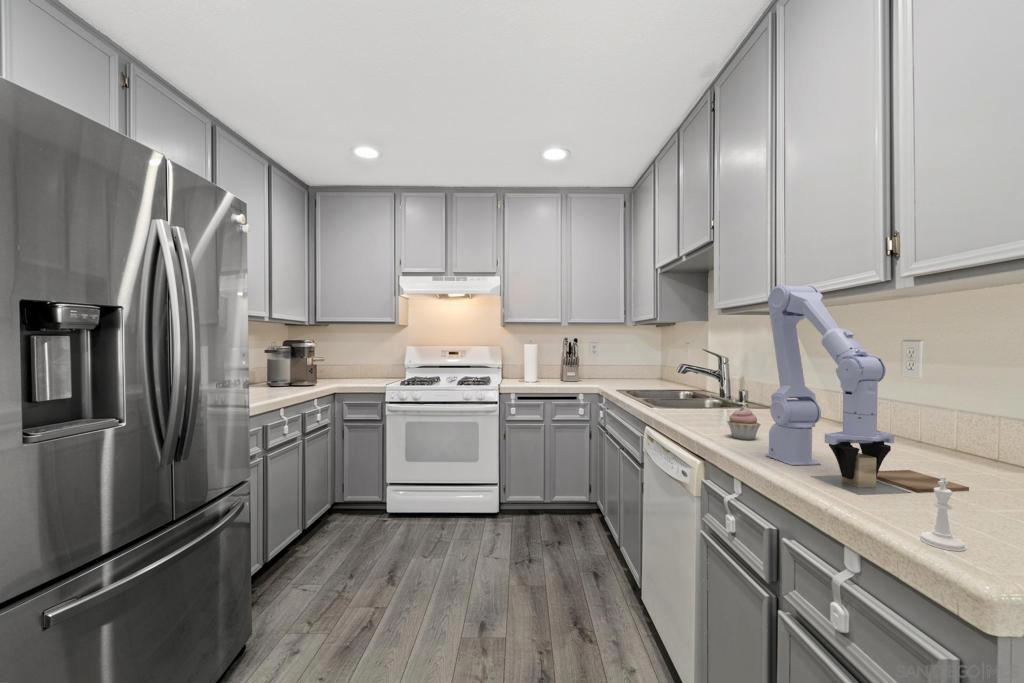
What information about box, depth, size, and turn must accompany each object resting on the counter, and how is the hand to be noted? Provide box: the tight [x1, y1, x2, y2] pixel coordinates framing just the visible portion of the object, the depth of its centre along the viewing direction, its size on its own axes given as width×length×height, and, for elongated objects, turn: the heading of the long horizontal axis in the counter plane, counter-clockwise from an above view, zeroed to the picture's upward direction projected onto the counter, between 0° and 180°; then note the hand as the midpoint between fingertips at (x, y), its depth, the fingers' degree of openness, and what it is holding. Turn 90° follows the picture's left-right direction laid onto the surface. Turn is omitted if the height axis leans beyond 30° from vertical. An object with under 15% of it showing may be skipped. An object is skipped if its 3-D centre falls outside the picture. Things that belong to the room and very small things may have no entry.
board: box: [876, 469, 970, 494], centre depth 96 cm, size 12×12×1 cm
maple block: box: [842, 452, 877, 487], centre depth 94 cm, size 4×4×6 cm
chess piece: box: [919, 475, 967, 552], centre depth 67 cm, size 5×5×10 cm
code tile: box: [810, 474, 912, 496], centre depth 94 cm, size 12×12×1 cm
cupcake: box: [726, 405, 761, 441], centre depth 138 cm, size 9×9×10 cm
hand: (858, 477), depth 94 cm, fingers open, 5 cm apart
